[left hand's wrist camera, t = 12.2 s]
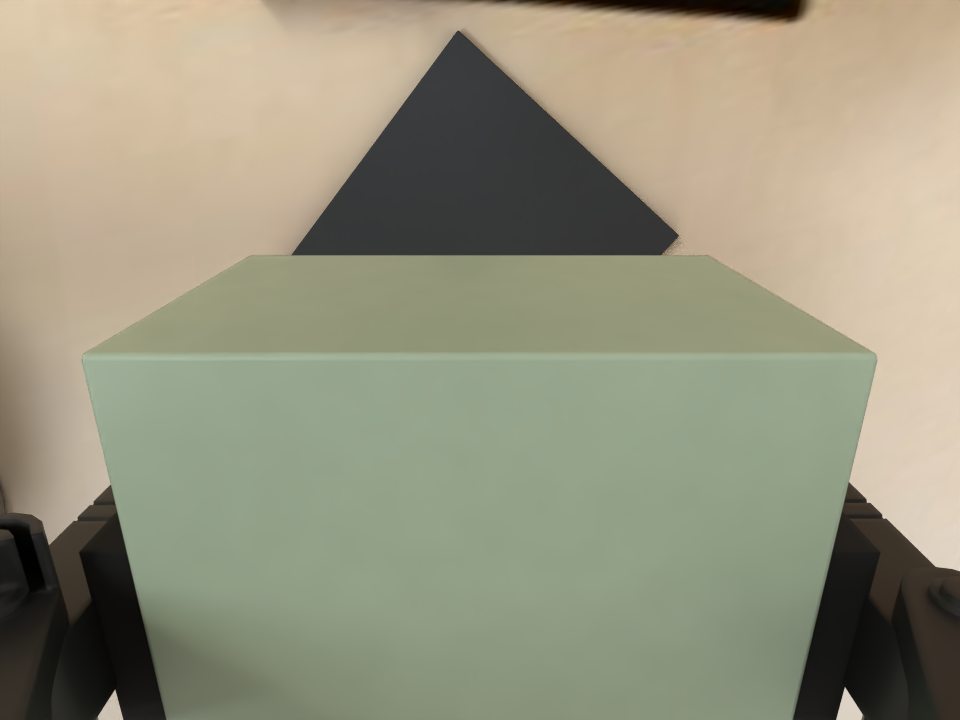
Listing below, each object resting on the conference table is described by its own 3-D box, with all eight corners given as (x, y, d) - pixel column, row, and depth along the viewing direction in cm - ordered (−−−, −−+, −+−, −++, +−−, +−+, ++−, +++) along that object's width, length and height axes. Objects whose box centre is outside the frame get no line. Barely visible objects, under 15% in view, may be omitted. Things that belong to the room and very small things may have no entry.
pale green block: (663, 620, 14) (758, 877, 9) (295, 621, 14) (200, 878, 9) (711, 254, 11) (883, 353, 6) (248, 254, 11) (76, 353, 6)
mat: (493, 427, 35) (493, 432, 35) (283, 268, 32) (280, 270, 32) (675, 233, 32) (679, 235, 31) (458, 31, 28) (458, 29, 28)
